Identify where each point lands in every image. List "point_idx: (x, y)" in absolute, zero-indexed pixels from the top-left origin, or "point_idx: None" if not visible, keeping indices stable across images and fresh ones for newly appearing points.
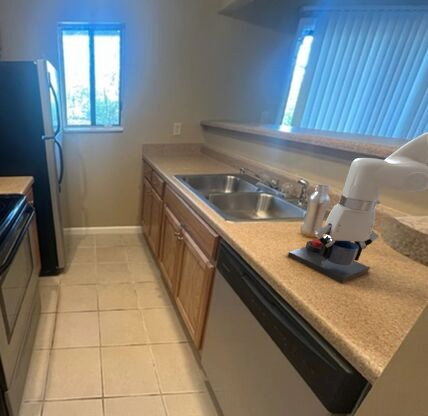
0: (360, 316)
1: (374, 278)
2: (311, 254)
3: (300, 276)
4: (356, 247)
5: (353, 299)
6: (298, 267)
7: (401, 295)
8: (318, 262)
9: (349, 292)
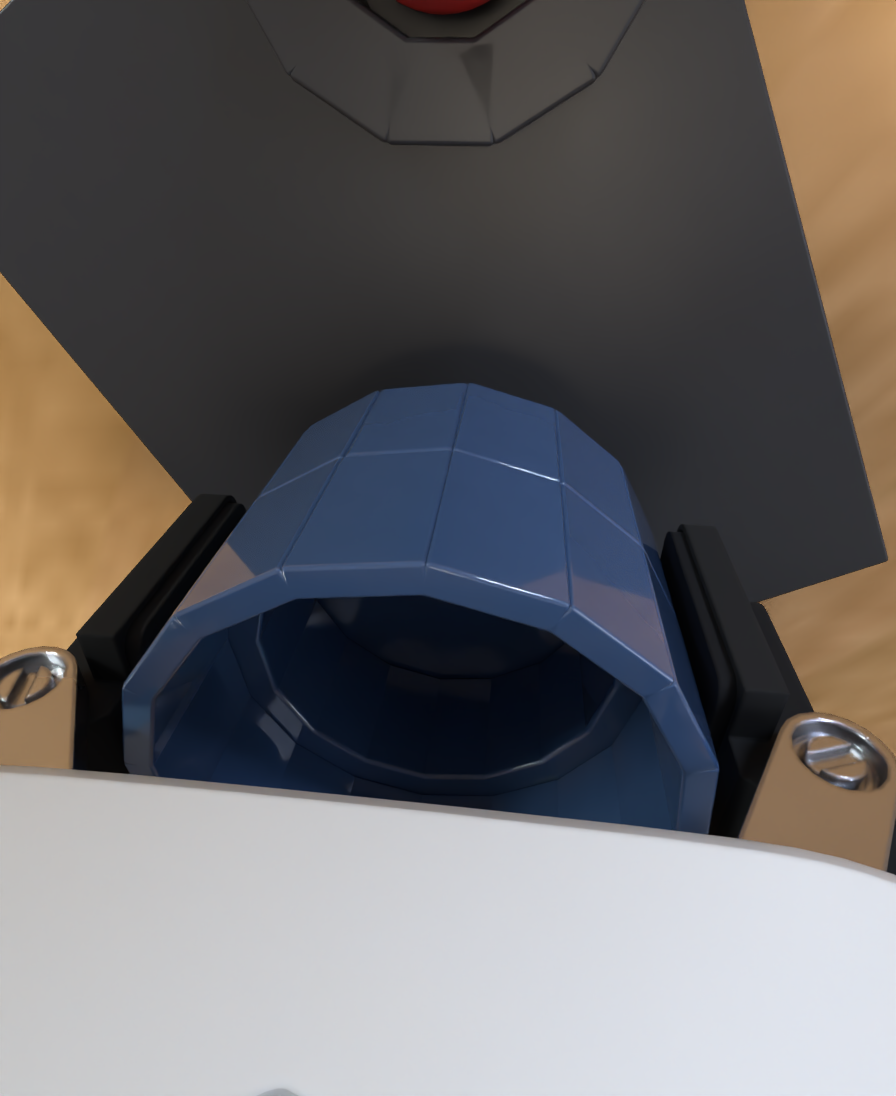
0: None
1: (802, 611)
2: (247, 217)
3: (63, 586)
4: None
5: None
6: (73, 432)
7: None
8: (257, 466)
9: None
